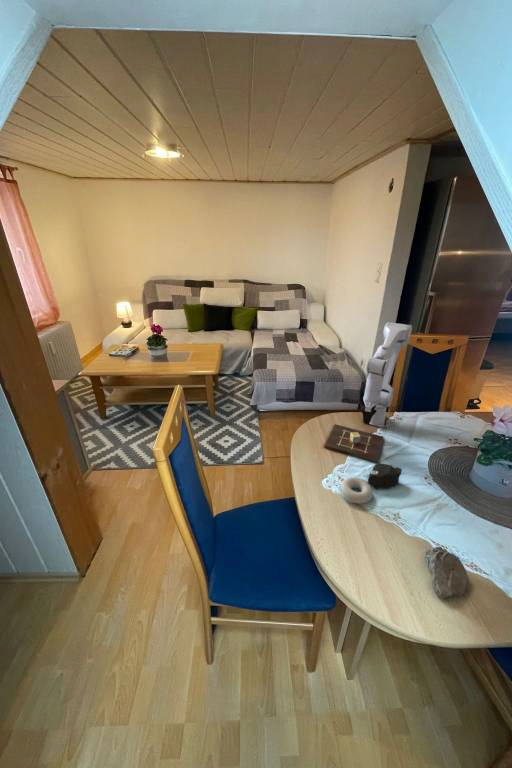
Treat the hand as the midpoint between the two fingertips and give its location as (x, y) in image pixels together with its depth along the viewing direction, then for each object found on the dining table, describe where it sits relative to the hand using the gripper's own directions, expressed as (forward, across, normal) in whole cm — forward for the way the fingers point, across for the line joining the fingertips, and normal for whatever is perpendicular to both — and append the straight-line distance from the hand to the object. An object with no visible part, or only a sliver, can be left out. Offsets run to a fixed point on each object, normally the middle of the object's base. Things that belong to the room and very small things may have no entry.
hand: (368, 418), depth 121 cm
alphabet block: (+8, -6, +3) cm, 11 cm away
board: (+9, -6, +3) cm, 12 cm away
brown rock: (+10, -49, -27) cm, 57 cm away
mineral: (+10, -23, -9) cm, 26 cm away
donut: (+10, -32, -3) cm, 34 cm away
